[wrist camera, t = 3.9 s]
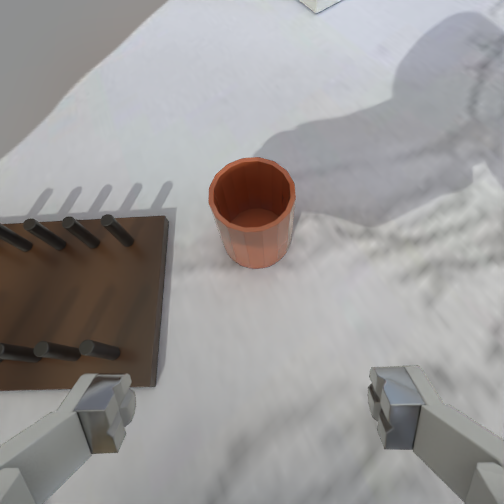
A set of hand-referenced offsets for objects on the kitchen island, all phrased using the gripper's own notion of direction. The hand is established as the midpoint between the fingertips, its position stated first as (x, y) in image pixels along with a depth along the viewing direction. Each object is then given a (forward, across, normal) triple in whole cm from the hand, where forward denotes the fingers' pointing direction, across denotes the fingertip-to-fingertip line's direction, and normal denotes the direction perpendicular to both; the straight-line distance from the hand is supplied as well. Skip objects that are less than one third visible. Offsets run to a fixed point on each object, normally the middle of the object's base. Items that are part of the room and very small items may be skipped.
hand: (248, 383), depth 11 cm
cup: (+19, 0, +2) cm, 19 cm away
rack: (+15, +17, +5) cm, 23 cm away
